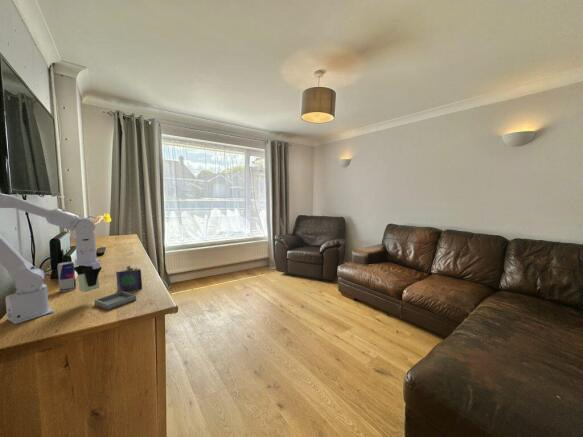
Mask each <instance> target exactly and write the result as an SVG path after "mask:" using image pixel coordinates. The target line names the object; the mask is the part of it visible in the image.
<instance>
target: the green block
mask: <svg viewBox="0 0 583 437" xmlns="http://www.w3.org/2000/svg"><path fill="white" fill-rule="evenodd" d="M77 278H78V287H79V288H78V290H79V291H81V292H83V293H86V292H90V291H93V290H98V289H100V279H99V276H98V277H97V282H96V285H94V286H90V287H89V286H88V284H87V280H86V277H85V275H84V274H79V275H78V274H77Z"/></svg>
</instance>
